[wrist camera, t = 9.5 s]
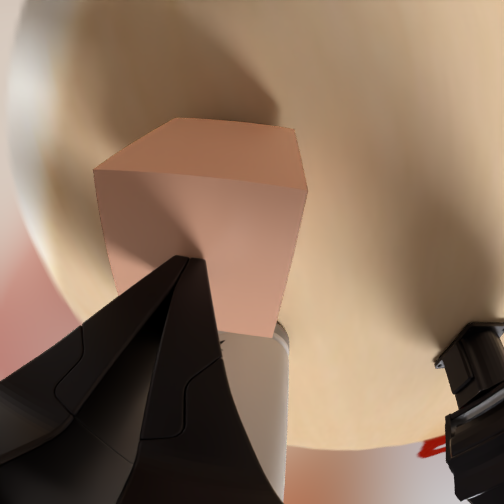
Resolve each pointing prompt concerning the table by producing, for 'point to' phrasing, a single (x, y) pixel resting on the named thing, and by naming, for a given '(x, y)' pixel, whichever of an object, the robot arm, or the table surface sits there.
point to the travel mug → (261, 395)
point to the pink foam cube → (208, 212)
